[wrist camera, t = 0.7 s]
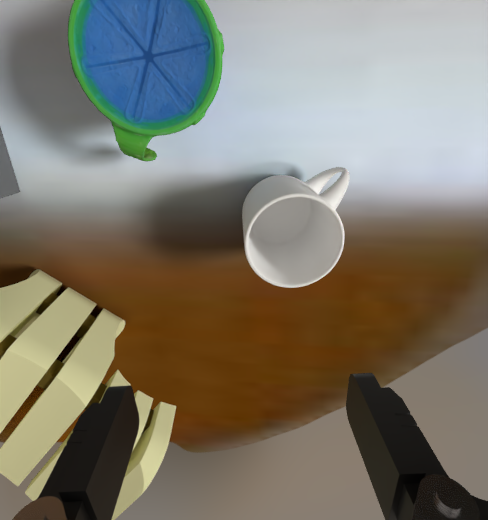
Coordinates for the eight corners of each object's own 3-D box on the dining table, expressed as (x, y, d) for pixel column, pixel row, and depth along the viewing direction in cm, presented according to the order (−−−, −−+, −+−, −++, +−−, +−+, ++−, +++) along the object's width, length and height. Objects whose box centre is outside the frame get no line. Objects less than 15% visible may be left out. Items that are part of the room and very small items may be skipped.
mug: (353, 190, 36) (398, 216, 27) (276, 259, 40) (290, 305, 30) (304, 132, 34) (334, 137, 24) (226, 211, 37) (223, 244, 27)
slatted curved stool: (188, 345, 44) (162, 476, 28) (127, 411, 49) (74, 556, 33) (-28, 212, 36) (-243, 287, 20) (-77, 306, 41) (-284, 430, 25)
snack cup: (190, 171, 35) (174, 190, 26) (95, 124, 33) (41, 126, 24) (256, 16, 30) (266, -31, 20) (147, -52, 28) (103, -139, 18)
